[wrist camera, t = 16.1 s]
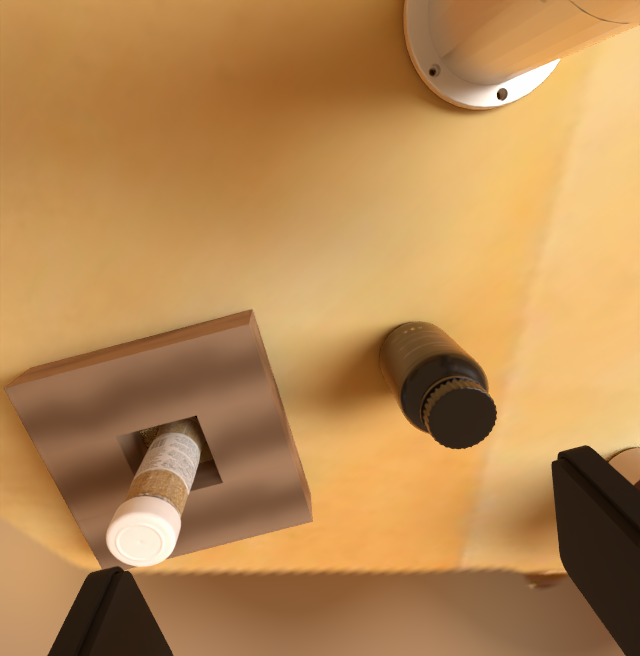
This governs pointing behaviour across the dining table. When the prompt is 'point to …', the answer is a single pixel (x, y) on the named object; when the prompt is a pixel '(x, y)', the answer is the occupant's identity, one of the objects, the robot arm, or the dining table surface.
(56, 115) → the dining table surface
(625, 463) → the coffee cup
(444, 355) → the supplement bottle
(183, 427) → the sprinkles bottle
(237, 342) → the walnut holder
